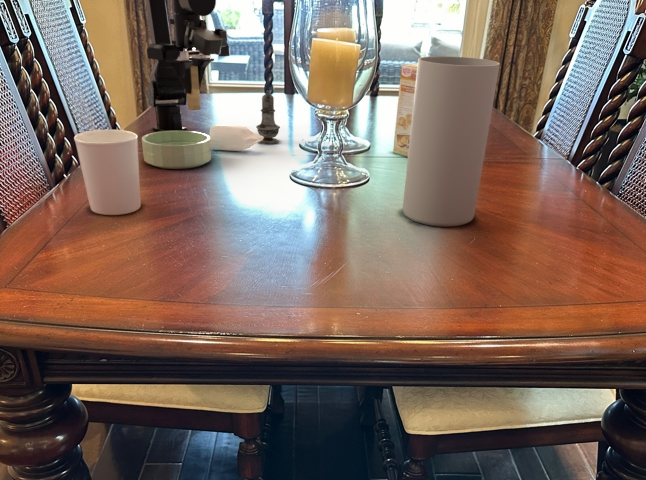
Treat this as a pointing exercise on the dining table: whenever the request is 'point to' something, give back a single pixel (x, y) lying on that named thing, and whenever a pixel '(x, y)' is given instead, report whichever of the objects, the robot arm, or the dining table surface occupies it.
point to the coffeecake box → (405, 109)
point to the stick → (194, 90)
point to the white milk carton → (232, 138)
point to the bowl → (176, 149)
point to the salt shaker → (268, 121)
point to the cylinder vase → (448, 138)
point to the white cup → (110, 170)
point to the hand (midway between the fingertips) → (192, 93)
